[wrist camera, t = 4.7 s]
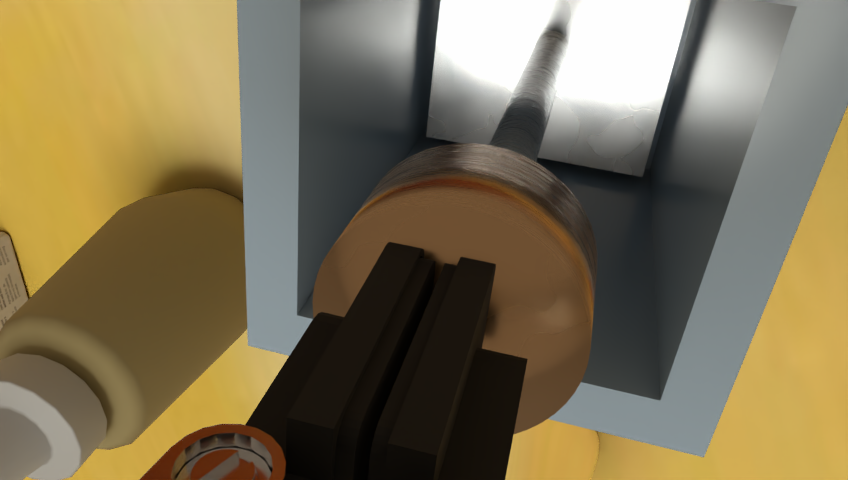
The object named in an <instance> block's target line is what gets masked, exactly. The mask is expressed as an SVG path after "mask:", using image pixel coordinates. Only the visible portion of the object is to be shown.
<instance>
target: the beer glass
mask: <svg viewBox="0 0 848 480" xmlns="http://www.w3.org/2000/svg"><path fill="white" fill-rule="evenodd" d="M598 455H599V438H598V434H597V432H596V431H595V430H591V429H586V428H582V427H578V426H574V425H570V424H566V423H562V422H558V421H554V420H550V419H547V420H545V421H544V422H542V423H540V424H538V425H536V426H534V427H532V428H530V429H528V430H525V431H522V432H520V433H517V434H514V435H513V440H512V445H511V451H510V456H509V461H508V467H507V472H506V477H505V480H591V478H592V475H593V472H594V469H595V466H596V463H597V459H598Z"/></svg>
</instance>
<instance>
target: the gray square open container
mask: <svg viewBox="0 0 848 480" xmlns="http://www.w3.org/2000/svg"><path fill="white" fill-rule="evenodd" d="M440 1H441V0H237V19H238V50H239V81H240V112H241V143H242V174H243V205H244V236H245V267H246V298H247V329H248V346H252V347H256V348H260V349H264V350H268V351H272V352H276V353H280V354H284V355H288V356H290V354H291V353H292V351H293V350H294V348H295V347H296V345H297V343H298V342H299V340H300V339H301V337H302V336H303V334H304V333H305V331H306V329H307V328H308V326H309V325H310V323H311V322H312V320H313V319H314V317H313V292H314V285H315V281H316V278H317V274H318V271H319V269H320V267H321V265H322V262H323V260H324V258H325V257H326V255H327V254H328V252H329V251H330V249H331V248H332V246H333V245H334V244H335V242H336V241H337V239H338V238H339V237H340V235H341V234H342V233H343V231H344V230H345V228H346V227H347V226H348V224H349V223H350V221H351V220H352V219H353V217H354V216H355V214H356V213H357V212H358V210H359V209H360V208H361V206H362V205H363V203H364V202H365V201H366V199H367V198H368V196H369V195H370V194H371V192H372V191H373V190H374V188H375V187H376V185H377V184H378V183H379V181H380V180H381V179H382V178H383V177H384V176H385V175H386V174H387V173H388V172H389V171H390V170H391V169H392V168H394V167H395V166H396V165H397V164H399V163H400V162H402V161H403V160H405V159H407V158H409V157H410V156H412V155H414V154H417V153H419V152H421V151H424V150H426V149H430V148H434V147H437V146H441V145H448V144H456V143H458V142H453V141H448V140H442V139H437V138H432V137H426V134H427V124H428V115H429V105H430V96H431V86H432V77H433V67H434V58H435V48H436V39H437V29H438V20H439V10H440ZM847 105H848V0H691V2H690V6H689V9H688V13H687V17H686V20H685V24H684V28H683V31H682V35H681V39H680V42H679V46H678V49H677V53H676V57H675V60H674V64H673V68H672V71H671V75H670V79H669V82H668V86H667V90H666V93H665V97H664V101H663V104H662V108H661V112H660V115H659V119H658V123H657V126H656V130H655V133H654V137H653V141H652V144H651V148H650V152H649V155H648V159H647V163H646V166H645V170H644V174H643V177H640V176H634V175H629V174H624V173H618V172H613V171H608V170H602V169H597V168H592V167H586V166H581V165H576V164H570V163H565V162H560V161H554V160H549V159H544V158H537V161H536V162H537V163H539V164H540V165H542V166H543V167H545V168H546V169H547V170H549V171H550V172H552V173H553V174H554V175H555V176H556V177H558V178H559V179H560V180H561V181H562V182H563V183H564V184H565V185H566V186H567V187H568V188H569V189H570V191H571V192H572V193H573V194H574V195H575V197H576V198H577V199H578V201H579V202H580V204H581V206H582V207H583V209H584V210H585V212H586V214H587V217H588V219H589V221H590V223H591V226H592V229H593V232H594V236H595V239H596V246H597V254H598V255H597V277H596V289H595V301H594V313H593V325H592V337H591V349H590V355H589V360H588V365H587V368H586V371H585V374H584V376H583V379H582V381H581V383H580V385H579V386H578V388H577V390H576V392H575V393H574V394H573V396H572V397H571V398H570V399H569V401H568V402H567V403H566V404H565V405H564V406H563V407H562V408H561V409H560V410H559V411H557V412H556V413H555V414H554V415H553V416H551V417H550V418H548V419H550V420H554V421H558V422H562V423H566V424H570V425H574V426H578V427H582V428H586V429H591V430H595V431H599V432H603V433H607V434H611V435H615V436H619V437H623V438H627V439H631V440H635V441H640V442H644V443H648V444H652V445H656V446H660V447H664V448H668V449H672V450H676V451H680V452H684V453H689V454H693V455H697V456H701V457H704V456H705V453H706V451H707V448H708V446H709V443H710V441H711V439H712V436H713V434H714V431H715V429H716V426H717V424H718V421H719V419H720V417H721V414H722V412H723V409H724V407H725V404H726V402H727V399H728V397H729V394H730V392H731V390H732V387H733V385H734V382H735V380H736V377H737V375H738V372H739V370H740V368H741V365H742V363H743V360H744V358H745V355H746V353H747V350H748V348H749V345H750V343H751V341H752V338H753V336H754V333H755V331H756V328H757V326H758V323H759V321H760V319H761V316H762V314H763V311H764V309H765V306H766V304H767V301H768V299H769V296H770V294H771V292H772V289H773V287H774V284H775V282H776V279H777V277H778V274H779V272H780V270H781V267H782V265H783V262H784V260H785V257H786V255H787V252H788V250H789V248H790V245H791V243H792V240H793V238H794V235H795V233H796V230H797V228H798V225H799V223H800V221H801V218H802V216H803V213H804V211H805V208H806V206H807V203H808V201H809V199H810V196H811V194H812V191H813V189H814V186H815V184H816V181H817V179H818V176H819V174H820V172H821V169H822V167H823V164H824V162H825V159H826V157H827V154H828V152H829V150H830V147H831V145H832V142H833V140H834V137H835V135H836V132H837V130H838V127H839V125H840V123H841V120H842V118H843V115H844V113H845V110H846V108H847Z"/></svg>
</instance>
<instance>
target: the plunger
mask: <svg viewBox="0 0 848 480" xmlns="http://www.w3.org/2000/svg"><path fill="white" fill-rule="evenodd" d="M690 2H691V0H441V1H440V10H439V20H438V29H437V39H436V48H435V58H434V67H433V77H432V86H431V96H430V105H429V115H428V124H427V134H426V137H432V138H437V139H442V140H448V141H453V142H458V143H456V144H448V145H441V146H437V147H434V148H430V149H426V150H424V151H421V152H419V153H417V154H414V155H412V156H410V157H409V158H407V159H405V160H403V161H402V162H400V163H399V164H397V165H396V166H395V167H394V168H392V169H391V170H390V171H389V172H388V173H387V174H386V175H385V176H384V177H383V178H382V179H381V180H380V181H379V183H378V184H377V185H376V187H375V188H374V190H373V191H372V192H371V194H370V195H369V196H368V198H367V199H366V201H365V202H364V203H363V205H362V206H361V208H360V209H359V210H358V212H357V213H356V214H355V216H354V217H353V219H352V220H351V221H350V223H349V224H348V226H347V227H346V228H345V230H344V231H343V233H342V234H341V235H340V237H339V238H338V239H337V241H336V242H335V244H334V245H333V246H332V248H331V249H330V251H329V252H328V254H327V255H326V257H325V258H324V260H323V262H322V265H321V267H320V269H319V271H318V274H317V278H316V281H315V285H314V292H313V317H315V316H316V315H317V314H318V313H320V312H324V313H329V314H333V315H337V316H342V317H345V315H346V313H347V312H348V310H349V308H350V306H351V305H352V303H353V301H354V300H355V298H356V296H357V294H358V293H359V291H360V289H361V287H362V286H363V284H364V282H365V281H366V279H367V277H368V275H369V274H370V272H371V270H372V268H373V267H374V265H375V263H376V262H377V260H378V258H379V256H380V255H381V253H382V251H383V249H384V248H385V246H386V244H387V243H388V242H394V243H398V244H403V245H408V246H413V247H417V248H422V249H424V258H425V259H429V260H434V261H435V274H434V283H433V290H434V288H435V285H436V283H437V281H438V278H439V276H440V273H441V271H442V269H443V266H444V264H445V263H448V264H453V265H457V264H458V262H459V259H460V257H465V258H470V259H475V260H480V261H484V262H489V263H494V264H496V269H495V276H494V281H493V287H492V293H491V299H490V304H489V310H488V316H487V322H486V327H485V333H484V339H483V345H482V349H487V350H491V351H495V352H500V353H504V354H509V355H513V356H517V357H522V358H526V359H527V365H526V371H525V376H524V382H523V387H522V392H521V398H520V403H519V408H518V414H517V419H516V424H515V429H514V434H517V433H520V432H522V431H525V430H528V429H530V428H532V427H534V426H536V425H538V424H540V423H542V422H544V421H545V420H547V419H548V418H550V417H551V416H553V415H554V414H555V413H556V412H557V411H559V410H560V409H561V408H562V407H563V406H564V405H565V404H566V403H567V402H568V401H569V399H570V398H571V397H572V396H573V394H574V393H575V392H576V390H577V388H578V386H579V385H580V383H581V381H582V379H583V376H584V374H585V371H586V368H587V365H588V360H589V355H590V349H591V337H592V325H593V313H594V301H595V289H596V277H597V255H598V254H597V246H596V239H595V236H594V232H593V229H592V226H591V223H590V221H589V219H588V217H587V214H586V212H585V210H584V209H583V207H582V206H581V204H580V202H579V201H578V199H577V198H576V197H575V195H574V194H573V193H572V192H571V191H570V189H569V188H568V187H567V186H566V185H565V184H564V183H563V182H562V181H561V180H560V179H559V178H558V177H556V176H555V175H554V174H553V173H552V172H550V171H549V170H547V169H546V168H545V167H543V166H542V165H540V164H539V163H537V162H536V161H537V158H544V159H549V160H554V161H560V162H565V163H570V164H576V165H581V166H586V167H592V168H597V169H602V170H608V171H613V172H618V173H624V174H629V175H634V176H640V177H643V174H644V170H645V166H646V163H647V159H648V155H649V152H650V148H651V144H652V141H653V137H654V133H655V130H656V126H657V123H658V119H659V115H660V112H661V108H662V104H663V101H664V97H665V93H666V90H667V86H668V82H669V79H670V75H671V71H672V68H673V64H674V60H675V57H676V53H677V49H678V46H679V42H680V39H681V35H682V31H683V28H684V24H685V20H686V17H687V13H688V9H689V6H690ZM432 292H433V291H432Z"/></svg>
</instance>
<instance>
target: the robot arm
mask: <svg viewBox="0 0 848 480" xmlns="http://www.w3.org/2000/svg"><path fill="white" fill-rule="evenodd" d="M495 269H496V264H494V263H489V262H484V261H480V260H475V259H470V258H465V257H460V259H459V262H458V264H457V265H453V264H448V263H445V264H444V266H443V269H442V271H441V273H440V276H439V278H438V281H437V283H436V285H435V288H434V290H433V283H434V274H435V261H434V260H429V259H425V258H424V249H422V248H417V247H413V246H408V245H403V244H398V243H394V242H388V243H387V244H386V246H385V248H384V249H383V251H382V253H381V255H380V256H379V258H378V260H377V262H376V263H375V265H374V267H373V268H372V270H371V272H370V274H369V275H368V277H367V279H366V281H365V282H364V284H363V286H362V287H361V289H360V291H359V293H358V294H357V296H356V298H355V300H354V301H353V303H352V305H351V306H350V308H349V310H348V312H347V313H346V315H345V317H342V316H337V315H333V314H329V313H324V312H320V313H318V314H317V315H316V316H315V317H314V319H313V320H312V322H311V323H310V325H309V326H308V328H307V329H306V331H305V333H304V334H303V336H302V337H301V339H300V340H299V342H298V343H297V345H296V347H295V348H294V350H293V351H292V353H291V354H290V356H289V358H288V359H287V361H286V362H285V364H284V365H283V367H282V368H281V370H280V372H279V373H278V375H277V376H276V378H275V379H274V381H273V383H272V384H271V386H270V387H269V389H268V390H267V392H266V393H265V395H264V397H263V398H262V400H261V401H260V403H259V404H258V406H257V408H256V409H255V411H254V412H253V414H252V415H251V417H250V418H249V420H248V422H247V423H246V425H242V424H219V425H215V426H210V427H205V428H202V429H200V430H198V431H195V432H193V433H191V434H189V435H187V436H185V437H184V438H182V439H181V440H180V441H179V442H177V443H176V444H175V445H173V446H172V447H171V448H170V449H169V450H168V451H167V452H166V453H165V454H164V455H163V456H162V457H161V458H160V459H159V460H158V461H157V462H156V463H155V464H154V465H153V466H152V467H151V468H150V469H149V470H148V471H147V472H146V473H145V474H144V475H143V477H142V478H141V479H140V480H505V477H506V472H507V467H508V461H509V456H510V451H511V445H512V440H513V435H514V429H515V424H516V419H517V414H518V408H519V403H520V398H521V392H522V387H523V382H524V376H525V371H526V365H527V359H526V358H522V357H517V356H513V355H509V354H504V353H500V352H495V351H491V350H487V349H482V345H483V339H484V333H485V327H486V322H487V316H488V310H489V304H490V299H491V293H492V287H493V281H494V276H495ZM432 291H433V292H432Z"/></svg>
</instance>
